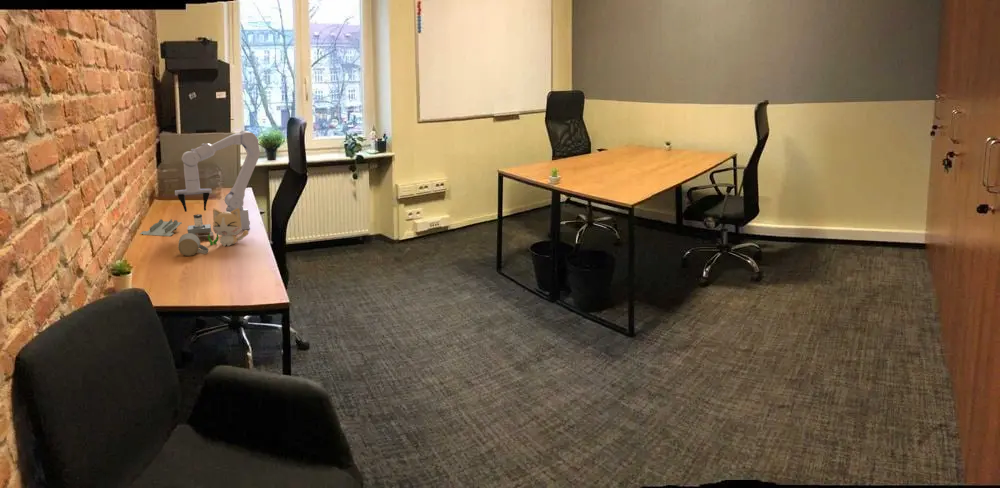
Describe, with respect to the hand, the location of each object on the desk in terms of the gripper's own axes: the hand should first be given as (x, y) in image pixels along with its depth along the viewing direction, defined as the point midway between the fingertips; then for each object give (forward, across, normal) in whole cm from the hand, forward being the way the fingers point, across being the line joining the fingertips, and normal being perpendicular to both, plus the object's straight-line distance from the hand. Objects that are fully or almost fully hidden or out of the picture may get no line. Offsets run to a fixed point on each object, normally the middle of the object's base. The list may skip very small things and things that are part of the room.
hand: (195, 210), depth 303 cm
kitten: (+10, -12, +26) cm, 30 cm away
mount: (+10, -3, +12) cm, 16 cm away
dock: (+10, -1, +4) cm, 11 cm away
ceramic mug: (+10, 0, +37) cm, 38 cm away
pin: (+10, -1, +4) cm, 11 cm away
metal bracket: (+11, +14, -6) cm, 19 cm away
